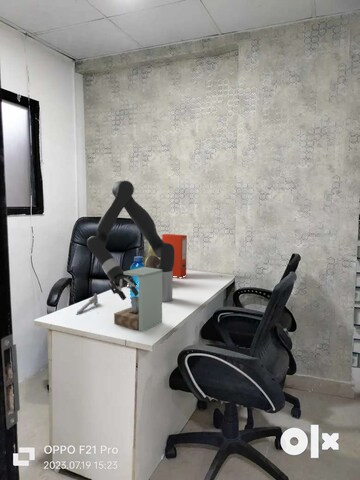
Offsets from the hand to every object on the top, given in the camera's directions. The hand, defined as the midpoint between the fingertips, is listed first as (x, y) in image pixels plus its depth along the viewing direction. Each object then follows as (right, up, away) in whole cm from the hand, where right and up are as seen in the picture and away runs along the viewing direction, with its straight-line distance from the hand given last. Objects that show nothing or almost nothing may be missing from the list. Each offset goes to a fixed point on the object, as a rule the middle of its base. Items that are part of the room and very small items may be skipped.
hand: (131, 296), depth 159 cm
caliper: (-26, -10, +20) cm, 34 cm away
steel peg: (+2, -12, -1) cm, 12 cm away
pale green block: (+6, -12, -3) cm, 14 cm away
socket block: (+2, -12, 0) cm, 12 cm away
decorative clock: (+4, -4, +78) cm, 78 cm away
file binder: (+18, -1, +101) cm, 103 cm away
